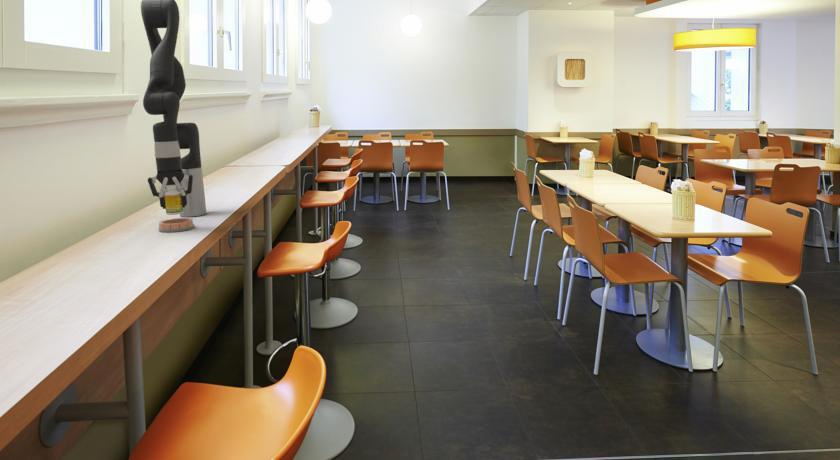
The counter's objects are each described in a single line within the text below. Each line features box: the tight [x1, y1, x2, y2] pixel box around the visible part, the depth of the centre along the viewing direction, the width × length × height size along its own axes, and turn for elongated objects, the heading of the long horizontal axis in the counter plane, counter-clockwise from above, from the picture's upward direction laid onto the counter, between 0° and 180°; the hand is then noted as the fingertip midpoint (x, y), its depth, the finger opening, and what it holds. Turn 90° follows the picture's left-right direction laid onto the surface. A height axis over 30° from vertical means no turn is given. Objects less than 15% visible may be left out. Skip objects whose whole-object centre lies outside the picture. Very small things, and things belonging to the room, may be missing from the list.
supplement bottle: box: [164, 185, 183, 216], centre depth 203 cm, size 5×5×10 cm
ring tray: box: [158, 217, 195, 234], centre depth 205 cm, size 11×11×3 cm
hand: (174, 207), depth 203 cm, fingers closed on supplement bottle, 5 cm apart
